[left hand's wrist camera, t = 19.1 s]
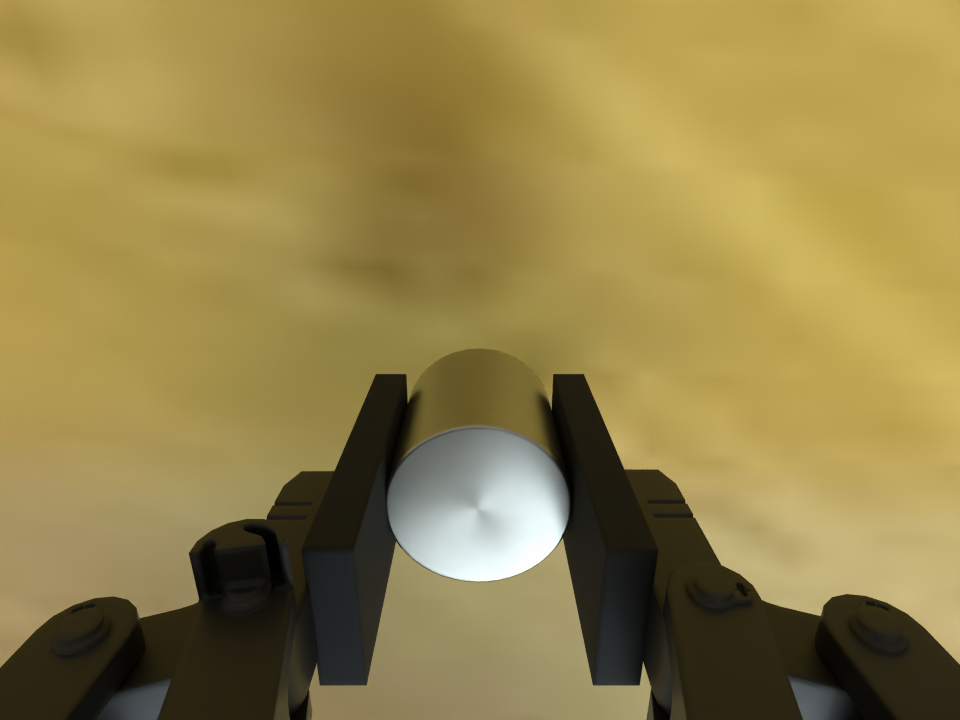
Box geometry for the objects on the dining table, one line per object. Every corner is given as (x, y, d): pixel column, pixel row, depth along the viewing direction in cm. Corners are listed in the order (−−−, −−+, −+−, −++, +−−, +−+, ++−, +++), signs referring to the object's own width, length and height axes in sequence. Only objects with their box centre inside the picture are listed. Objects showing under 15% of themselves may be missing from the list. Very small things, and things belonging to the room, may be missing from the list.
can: (388, 447, 15) (358, 549, 12) (438, 325, 14) (423, 397, 10) (514, 492, 16) (524, 605, 12) (573, 379, 15) (606, 466, 11)
